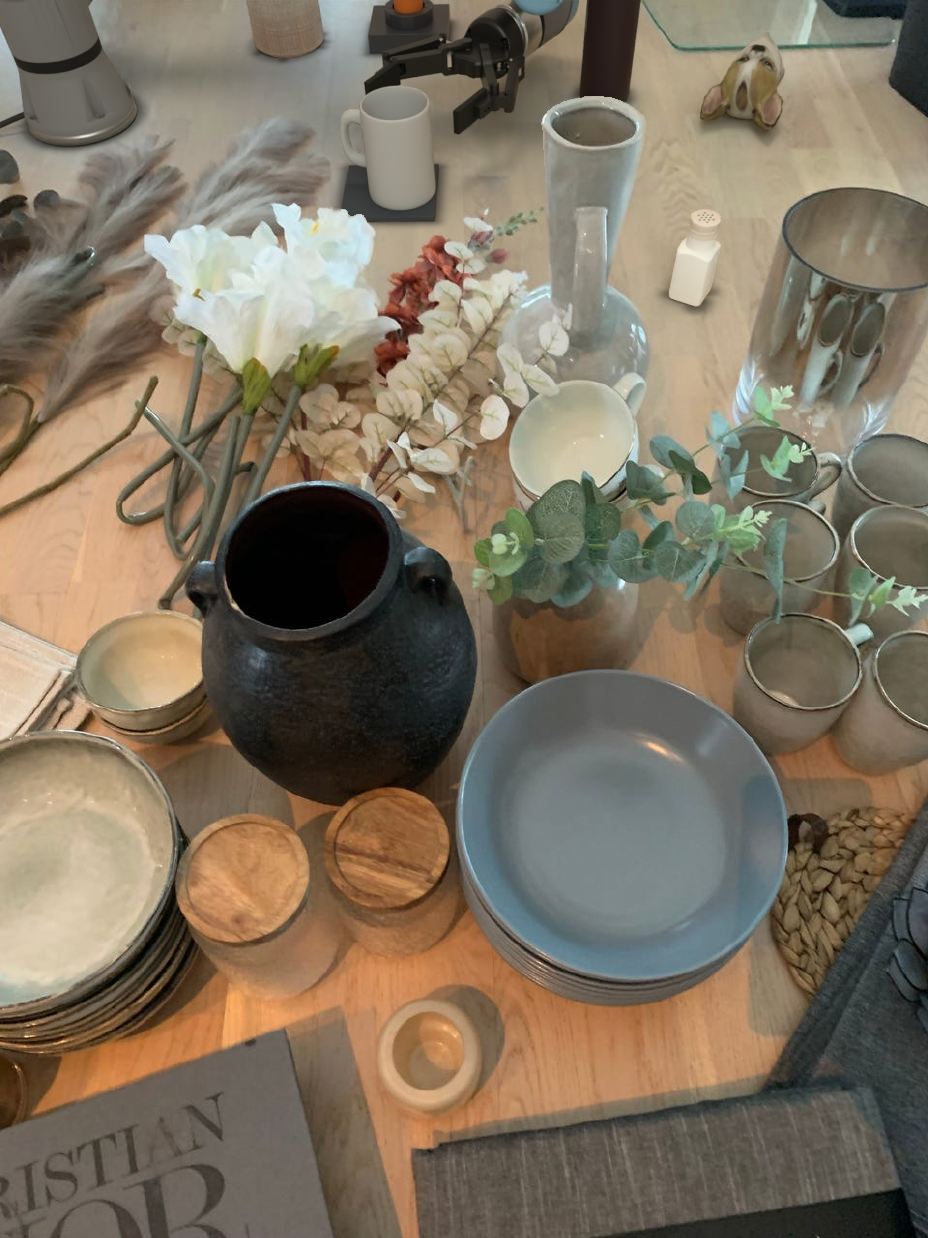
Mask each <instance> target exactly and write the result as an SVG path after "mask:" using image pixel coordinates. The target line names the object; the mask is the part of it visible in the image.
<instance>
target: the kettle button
mask: <svg viewBox="0 0 928 1238" xmlns="http://www.w3.org/2000/svg"><path fill="white" fill-rule="evenodd" d="M422 9H423V0H394V10H395V11H396V12H400V13H414V12H418V11H420V10H422Z"/></svg>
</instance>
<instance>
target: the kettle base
mask: <svg viewBox="0 0 928 1238" xmlns="http://www.w3.org/2000/svg"><path fill="white" fill-rule="evenodd" d="M450 8H451V7H450V3H434V2H432V1H431V0H423V9H422V10H420V11H418V12H414V13H400V12H396V11H395V10H394V0H388V1H387V2H386V3H384V4H382V5H381V4H380V5H379V4H377V5H376V4H375V5H373V7H372V12H371V18H370V23H369V28H368V33H367V38H368V46H369V54H370V55H382V52H383V51H386V50H390V49H393V48H397V47H400V46H403V45H407V44H410V43H414V42H417V41H420V40H424V39H427V38H430V37H432V36H434V35H435V34H437V33H439V32H444V33H446V40H447V41H450V30H451V12H450V11H451V10H450Z"/></svg>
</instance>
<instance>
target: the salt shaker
mask: <svg viewBox="0 0 928 1238" xmlns="http://www.w3.org/2000/svg"><path fill="white" fill-rule="evenodd" d="M689 219H690V220H689V225H688V229H687V235H686V236H685V237H684V239H683V240H682V241H681V242H680V244H679V246H678V247H677V249H676V254H675V259H674V263H673V269H672V274H671V279H670V283H669V284H670V285H669V287H668V297H669V298H670V299H671V300H674V301H677V302H680V303H684V304H686V305H690V306H692V307H700V305H702V303H703V301H705V299H706V297H707V295H708V294H709V293H710V291H711V290H712V288H713V282H714V279H715V275H716V270H717V267H718V263H719V259H720V254H721V251H722V244H721V243H720V242H719V241H718V240H717V238H718V236H719V230H720V226H721V221H722V217H721V215H720V214H719V212H716V211H714V210H713V209H708V208H707V209H706V208H703V209H697V210H695V211H693V212H692V213H691V215H690V218H689Z"/></svg>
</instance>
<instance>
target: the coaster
mask: <svg viewBox="0 0 928 1238" xmlns="http://www.w3.org/2000/svg"><path fill="white" fill-rule="evenodd" d="M439 166H440V165H439V164H438V163H434V173H435V194H434V196H433V197H432V199H431V200H430V201H429V202H428V203H426V204H424V205H423V206H420V207H418V208H415V209H411V210H400V211H398V210H390V209H386V208H383V207H381V206H379V205H377V204H376V203H375V202H374V201H373V200H372V198H371V196H370V192H369V184H368V175H367V168H365V167H361V166H358V165H355V164H349V165H348V167H347V172H346V173H347V175H346V179H345V184H344V190H343V197H342V200H341V201H342V202H341V206H340V210H341V209H346V210H347V211H348V214H349V215H350V216H354V215H356V214H362V215H364V217H365V218H366V220H367V222H435V221H436V209H437V195H438V184H439V170H440V167H439Z"/></svg>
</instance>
